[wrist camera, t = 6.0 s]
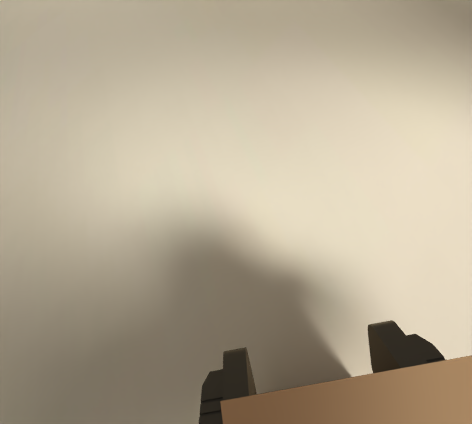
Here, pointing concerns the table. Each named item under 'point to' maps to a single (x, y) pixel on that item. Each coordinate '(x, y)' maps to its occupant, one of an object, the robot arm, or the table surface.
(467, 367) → the block
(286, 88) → the table surface
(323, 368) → the table surface
